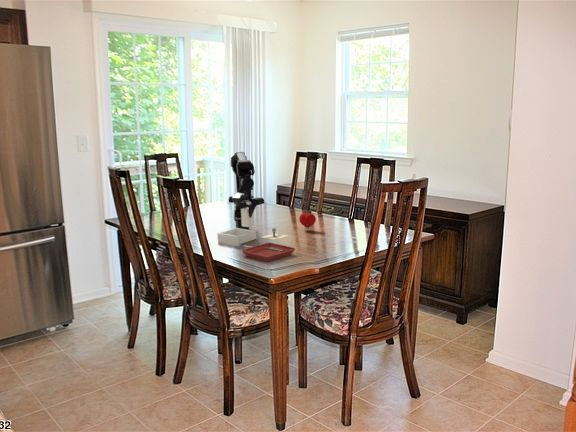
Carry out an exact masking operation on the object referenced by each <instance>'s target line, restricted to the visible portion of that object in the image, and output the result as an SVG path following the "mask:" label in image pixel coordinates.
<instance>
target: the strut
mask: <svg viewBox="0 0 576 432" xmlns="http://www.w3.org/2000/svg"><path fill="white" fill-rule="evenodd" d="M253 215H254V214H252V217H251V218H249V208H248V207H245V208H242V209H241V222H242V226H243V227H249V228H250V227H253V225H254V220H253V218H254V217H253Z"/></svg>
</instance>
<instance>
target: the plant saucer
mask: <svg viewBox="0 0 576 432" xmlns="http://www.w3.org/2000/svg"><path fill="white" fill-rule="evenodd" d="M272 248H273V249H272ZM295 250H296V248H295V247H292V246H288V245H282V244H278V243H273V242H265V243H263V244H258V245H254V246H251V247H249V248H245V249H241V252H242V253H243V255H245V256H246V257H250V258H253V259H256V260H260V261H263V262H264V261H265V262H271V261H274V260H278V259H280V258H281V259H282V258H284V257H288V256H291V255H292V254H293V253H294V251H295Z"/></svg>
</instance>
